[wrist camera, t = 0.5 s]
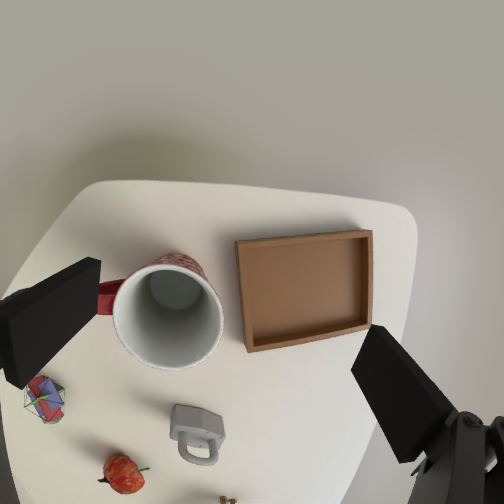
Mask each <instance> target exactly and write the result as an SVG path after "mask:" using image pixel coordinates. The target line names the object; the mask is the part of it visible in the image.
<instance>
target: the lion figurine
mask: <svg viewBox="0 0 504 504" xmlns="http://www.w3.org/2000/svg"><path fill="white" fill-rule="evenodd" d="M220 502H221V504H226V497H225V496H221V497H220ZM236 502H237V500H235V499H233V500H231V502H230V504H235V503H236Z"/></svg>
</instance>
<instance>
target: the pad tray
mask: <svg viewBox="0 0 504 504" xmlns="http://www.w3.org/2000/svg"><path fill="white" fill-rule="evenodd" d="M372 236H373V235H372V230H364V229H361V230H349V231H338V232H327V233H316V234H306V235H295V236H285V237H274V238H264V239H254V240H244V241H235V250H236V261H237V272H238V282H239V293H240V303H241V313H242V324H243V334H244V343H245V347H246V349H247V352H248V353H252V352H258V351H264V350H270V349H276V348H282V347H287V346H293V345H298V344H303V343H308V342H313V341H318V340H322V339H327V338H331V337H336V336H340V335H345V334H349V333H353V332H357V331H361V330H365V329H369V328H370V326H371V324H372V307H373V237H372Z"/></svg>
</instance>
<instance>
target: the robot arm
mask: <svg viewBox="0 0 504 504" xmlns="http://www.w3.org/2000/svg"><path fill="white" fill-rule="evenodd" d="M100 270H101V260H98V259H94V258H91V257H86V258H84V259H82V260H80V261H78V262H76V263H75V264H73V265H71V266H69V267H67V268H65V269H63V270H61V271H59V272H58V273H56V274H54V275H52V276H50V277H48V278H47V279H45V280H43V281H41V282H39V283H38V284H36V285H34V286H32V287H30V288H25V289H21V290H18V291H16V292H14V293H13V294H11V295H10V296H7V297H6V298H4V300H0V370H1V369H2V368H3V370H4V374H5V378H6V381H8V382H9V383H11V384H12V385H14V386H16V387H17V388H19V389H21V390H23V389H24V387H25V386H26V385H27V384H28V383H29V382H30V381H31V380H32V379H33V378H34V377H35V376H36V375H37V373H38V372H39V371H40V370H41V369H42V368H43V367H44V366H45V365H46V364H47V363H48V362H49V361H50V360H51V359H52V358H53V357H54V356H55V355H56V354H57V353H58V352H59V351H60V350H61V349H62V348H63V347H64V346H65V345H66V344H67V343H68V342H69V341H70V340H71V339H72V338H73V337H74V336H75V335H76V334H77V333H78V332H79V331H80V330H81V329H82V328H83V327H84V326H85V325H86V324H87V323H88V322H89V321H90V320H91V319H92V318H93V317H94V316H95V315H96V314H97V313H98V296H99V282H100ZM351 372H352V373H353V375H354V377H355V379H356V381H357V383H358V385H359V387H360V388H361V390H362V392H363V394H364V396H365V398H366V400H367V402H368V404H369V405H370V407H371V409H372V411H373V413H374V415H375V417H376V419H377V421H378V423H379V424H380V427H381V428H382V430H383V432H384V434H385V436H386V438H387V440H388V442H389V444H390V445H391V448H392V450H393V452H394V454H395V456H396V458H397V460H398V462H399V464H400V463H407V462H412V461H415V460H416V459H417V457H418V456H419V455H420V454H421V453H422V451H424V452H425V454H426V457H425V459H424V460H423V461H422V462H421V463H420V465H418V467H417V468H416V469H415V470H414V471H413V473H412V474H411V476H413V475H414V474H415V473H417V472H418V475H417V477H416V481H415V484H414V487H413V490H412V493H411V496H410V498H409V501H408V504H504V417H502V416H498V417H496V418H495V419H494V421H493V422H492V424H491V425H490V426H485V425H483V422H482V420H481V419H480V418H478V417H477V416H476V415H474V414H473V413H470V412H467V411H465V412H464V411H463V412H460V413H459V412H458V411H457V409H456V408H455V407H454V406H453V405H452V403H451V402H450V401H449V400H448V399H447V397H446V396H444V394H443V393H442V391H441V390H439V388H438V387H437V386H436V384H435V383H434V382H433V381H432V380H431V379H430V378H429V377H428V376H427V375H426V374H425V373H424V371H423V370H422V369H421V368H420V367H419V365H418V364H417V363H416V362H415V361H414V360H413V359H412V357H411V356H410V355H409V354H408V353H407V352H406V351H405V350H404V349H403V347H402V346H401V345H400V344H399V343H398V342H397V341H396V340H395V338H394V337H393V336H392V335H391V334H390V333H389V332H388V331H387V330H386V329H385V327H384V326H378V325H373V324H371V326H370V328H369V331H368V333H367V335H366V338H365V340H364V342H363V344H362V347H361V349H360V351H359V353H358V356H357V358H356V360H355V362H354V364H353V366H352V368H351ZM495 458H497V464H496V465H495V466H494V467H493V468H492V469H491V470H490V471H489V472H488V471H487V467H488V466H489V465H490V464H491V463H492V462H493V461H494V459H495ZM0 504H20V501H19V498H18V495H17V491H16V488H15V484H14V481H13V477H12V473H11V468H10V464H9V459H8V454H7V449H6V443H5V437H4V431H3V423H2V414H1V404H0Z"/></svg>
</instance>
